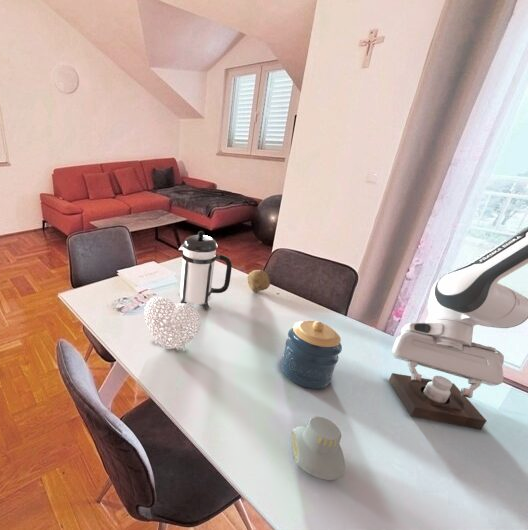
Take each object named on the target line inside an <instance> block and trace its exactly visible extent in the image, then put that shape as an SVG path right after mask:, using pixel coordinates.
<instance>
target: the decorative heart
mask: <svg viewBox="0 0 528 530" xmlns="http://www.w3.org/2000/svg"><path fill="white" fill-rule="evenodd" d="M143 311H144V312H143V315H144V320H145V325H146V327H147V328H148V330H149V332H150V333H151V335H152V337H153V338H154V344H155V345H156V344H157V343H158V344H160V346H162V347H163V348H164V349H166V350H172V349H176V351H179V350H180V347H182V352H185V351H186V345H187V344H188V343H190V342H191V341H192V340H193V339H194V338H195V337H196V336H197V335H198V333H199V330H200V328H201V316H200V314H199V311H198V310H197V309H196V308H195V307H194V306H192V304H189V303H186V304H184V303H180V302H179V303H178V302H176V303H175V302H173V301H172V300H170V299H169V298H167V297H163V296H153V297H152V298H150V299H149V300H148V301H147V302H146V303H145V306H144V310H143Z"/></svg>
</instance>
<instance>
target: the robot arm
mask: <svg viewBox="0 0 528 530" xmlns="http://www.w3.org/2000/svg"><path fill="white" fill-rule="evenodd" d="M527 264H528V226H526V227H524V228H523V229H521V230H519V231H518V232H516V233H514V234H512V235H510V237H508V238H506V239H505V240H502V241H501V242H500V243H498V244H496V245H495V246H494V247H492V248H490V249H489V250H487V251H486V252H485V253H482V254H481V255H479V256H477V257H476V258H475V259H473V260H471V261H470V262H468V263H466V264H464V265H462V266H460V267H457V268H454V269H452V270H451V271H448V272H447V273H445V274H443V275H442V276H441V277H440V278H439V279H438V280H436V281H435V282H434V283H433V285H432V287H431V289H430V293H429V296H428V301H427V311H428V315H427V317H426V319H425V320H424V321H425V322H409V323H406V324H405V325H403V326H402V328H401V329H400V334H399V335H398V336H397V337H396V338H395V340H394V343H393V345H392V349H391V355H392V356H393V358H394V359H397V360H400V361H404V362H407V368H408V370H409V372H410V374H411V375H410V376H411V380H413V381H416V382H421V378H423V377H422V376H423V375H422V374H420V373H418V371H417V369H416V367H418V366H421V367H424V368H428V369H431V370H435V371H439V372H442V373H446V374H448V375H452V376H456V377H459V378H463V379H467V383H468V385H469V386H467V388H466V387H462V388H461V389H460V391H461V396H465V397H466V398H467V399H472V398H473V395H474V391H475V390H476V389H477V388H479V387H480V386H481V384H483V385H487V386H490V387H494V386H499V385H501V384H503V383H504V369H503V365H504V360H505V357H504V354H503V353H502V352H501V351H500V350H497V349H496V347H493V346H487V345H485V344H480V343H477V342H474V341H473V336H474V335H473V334H474V333H473V332H474V327H475V326H481V327H487V328H496V329H511V328H515V327H517V326H520V325H522V324H523V323H525V322H526V321H527V320H528V298H527V297H526V296H524V295H523V294H521V293H519V292H518V291H515V290H514V289H512V288H509V287H507V286H505V285H503V284H501V283H500V282H499V281H501V280H502V279H503V278H506V277H507V276H509V275H510V274H512V273H514V272H516V271H517V270H519V269H521V268H522V267H524V266H526V265H527ZM498 282H499V283H498Z"/></svg>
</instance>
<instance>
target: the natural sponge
mask: <svg viewBox="0 0 528 530" xmlns="http://www.w3.org/2000/svg"><path fill="white" fill-rule="evenodd" d="M247 284H248V287H249V288H250V290H251V292H252V293H253V292H254V293H259V292H261V291H265V290H267V289H269V287H270V286H271V280H270V277H269V275H268V274H267V273H266V271H264V270H262V269H254V270H252V271H250V272H249V273H248V274H247Z"/></svg>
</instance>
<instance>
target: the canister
mask: <svg viewBox="0 0 528 530" xmlns="http://www.w3.org/2000/svg"><path fill="white" fill-rule="evenodd" d="M287 337H288V338H287V339H286V341H285V347H284V350H283V354H282V356H281V360H280V369H281V371H282V373H283V375H284V376H285V377H286V378H287V379H289V380H290V381H291V382H293V383H294V384H296V385H298V386H300V387H304V388H307V389H311V390H320V389H324V388H326V387H328V385H329V384H330V383H331V382H332V379H333V375H334V371H335V368H336V365H337V363H338V361H339V354H341V353H342V350H343V346H342V343H341V336H340V334H339V333H338V332H337V331H336V330H334V329H333V328H332V327H330V326H329V325H328V324H325V323H323V322H322V321H320V320H301V321H297V322H295V323H294V324H293V326H292V328H290V329H289V330H288V331H287Z"/></svg>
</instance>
